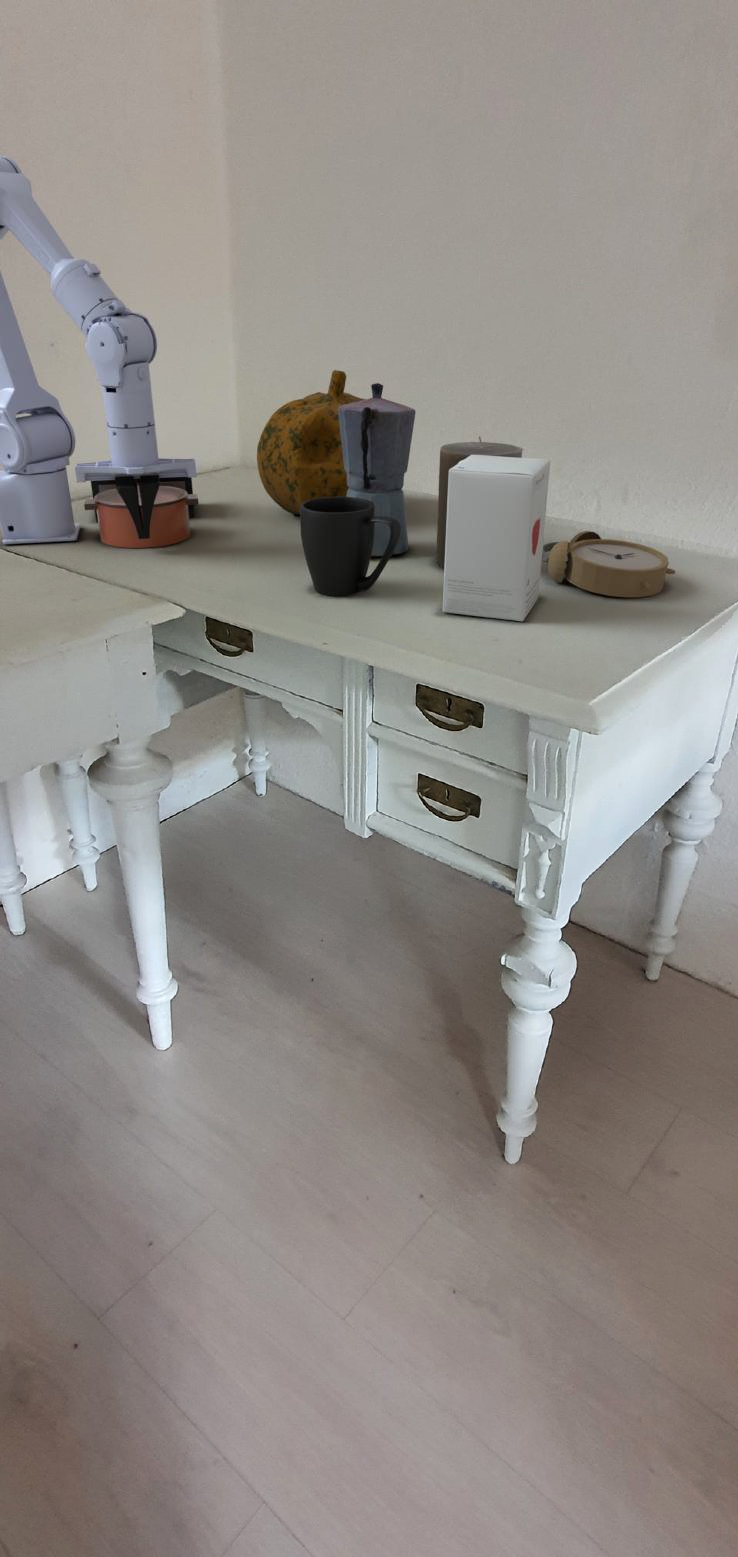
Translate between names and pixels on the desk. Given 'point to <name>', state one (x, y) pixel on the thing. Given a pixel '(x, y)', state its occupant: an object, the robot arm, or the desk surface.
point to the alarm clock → (607, 565)
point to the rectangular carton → (495, 536)
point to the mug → (342, 543)
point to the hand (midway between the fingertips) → (144, 536)
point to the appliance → (107, 485)
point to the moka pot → (378, 459)
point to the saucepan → (164, 524)
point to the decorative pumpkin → (305, 448)
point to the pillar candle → (448, 459)
